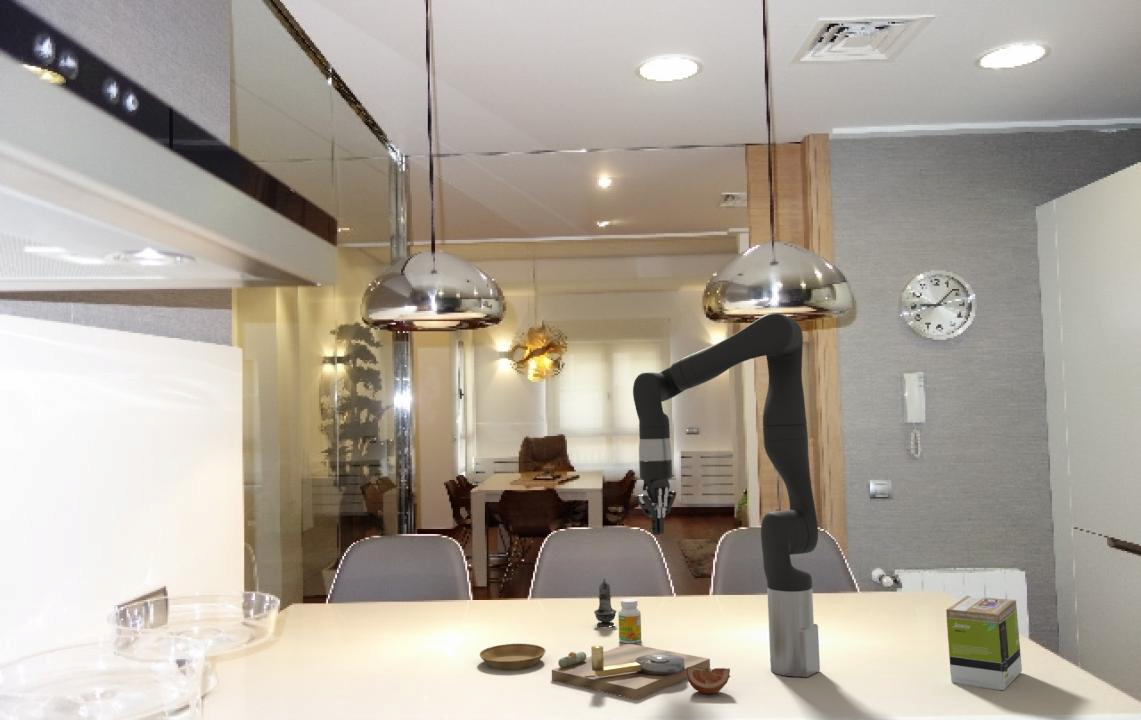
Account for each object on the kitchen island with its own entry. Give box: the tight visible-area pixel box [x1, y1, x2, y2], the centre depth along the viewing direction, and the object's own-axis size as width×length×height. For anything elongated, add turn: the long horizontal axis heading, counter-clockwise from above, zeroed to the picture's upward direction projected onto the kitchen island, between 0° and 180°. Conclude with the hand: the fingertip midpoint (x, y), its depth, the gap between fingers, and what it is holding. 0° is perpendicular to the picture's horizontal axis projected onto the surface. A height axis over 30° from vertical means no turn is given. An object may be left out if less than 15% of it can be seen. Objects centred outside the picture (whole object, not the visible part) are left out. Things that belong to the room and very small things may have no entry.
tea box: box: [945, 595, 1023, 691], centre depth 176 cm, size 15×10×15 cm, turn 141°
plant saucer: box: [479, 643, 547, 670], centre depth 197 cm, size 15×15×3 cm
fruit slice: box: [687, 667, 731, 695], centre depth 171 cm, size 8×7×5 cm
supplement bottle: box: [618, 598, 642, 644], centre depth 213 cm, size 5×5×10 cm
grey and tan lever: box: [591, 645, 685, 677], centre depth 179 cm, size 20×10×6 cm, turn 112°
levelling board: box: [551, 643, 711, 700], centre depth 185 cm, size 22×26×5 cm
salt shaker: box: [593, 578, 617, 628], centre depth 229 cm, size 6×6×12 cm
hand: (658, 534), depth 202 cm, fingers closed
